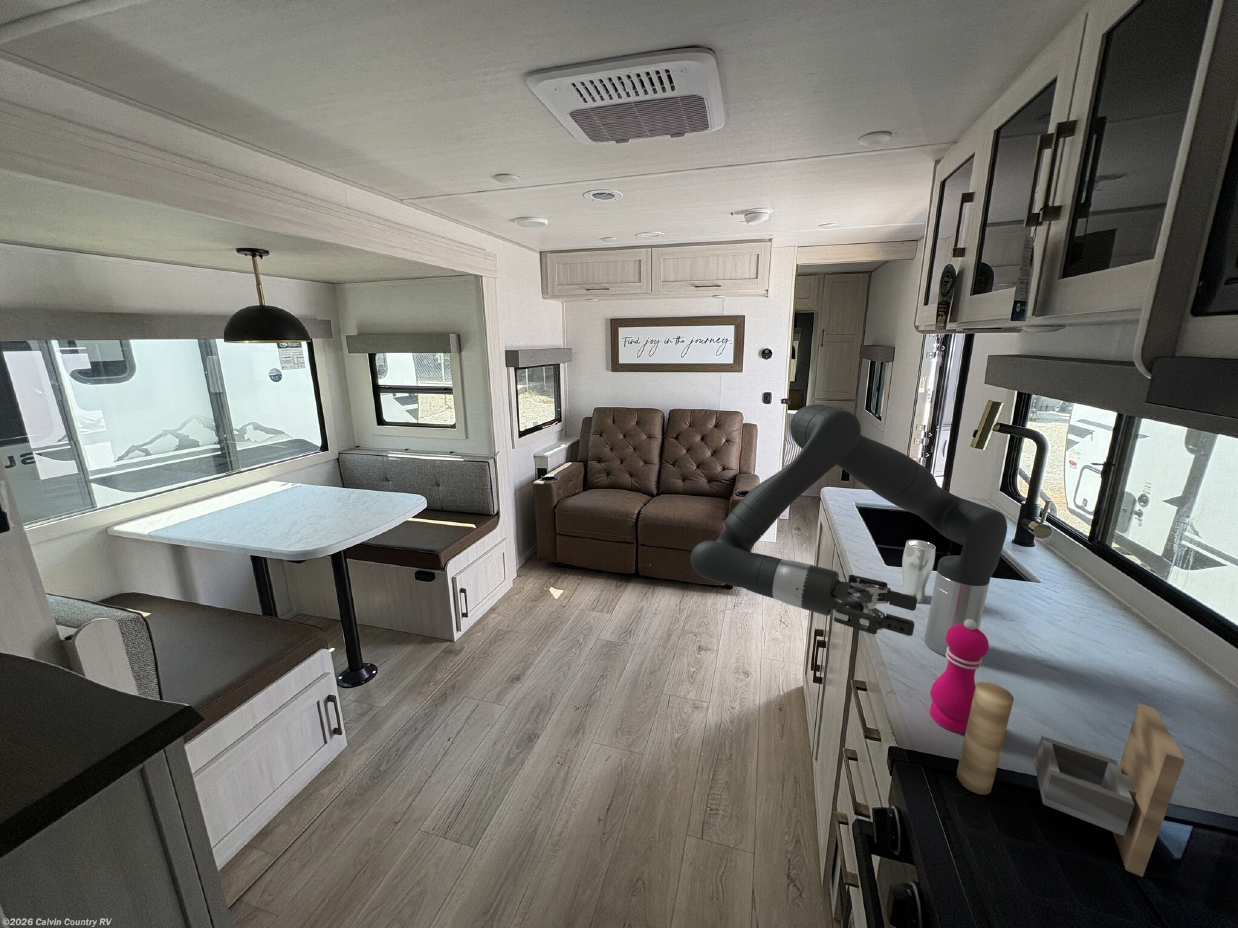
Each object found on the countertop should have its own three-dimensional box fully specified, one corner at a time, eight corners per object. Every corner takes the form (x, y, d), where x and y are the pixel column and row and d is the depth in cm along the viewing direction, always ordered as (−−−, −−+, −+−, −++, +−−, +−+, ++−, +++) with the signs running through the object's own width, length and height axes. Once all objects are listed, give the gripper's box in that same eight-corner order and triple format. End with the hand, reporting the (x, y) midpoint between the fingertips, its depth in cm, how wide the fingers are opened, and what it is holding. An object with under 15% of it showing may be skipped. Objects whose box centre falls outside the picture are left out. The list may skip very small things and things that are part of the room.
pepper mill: (929, 699, 92) (948, 604, 87) (976, 717, 87) (999, 618, 82) (923, 721, 86) (943, 621, 81) (973, 742, 82) (997, 637, 77)
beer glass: (926, 606, 125) (937, 552, 121) (895, 599, 128) (904, 546, 124) (926, 595, 130) (936, 543, 127) (897, 588, 134) (905, 537, 130)
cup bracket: (1027, 779, 75) (1054, 679, 71) (1119, 814, 69) (1154, 708, 65) (1037, 832, 67) (1069, 722, 62) (1142, 876, 61) (1184, 759, 57)
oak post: (955, 764, 77) (975, 678, 74) (990, 778, 75) (1011, 689, 71) (956, 785, 74) (976, 694, 70) (992, 799, 72) (1015, 707, 68)
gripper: (797, 582, 76) (917, 614, 68) (816, 551, 88) (921, 576, 79) (792, 624, 78) (908, 661, 69) (811, 589, 90) (913, 617, 81)
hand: (915, 616), depth 74 cm, fingers open, 8 cm apart
